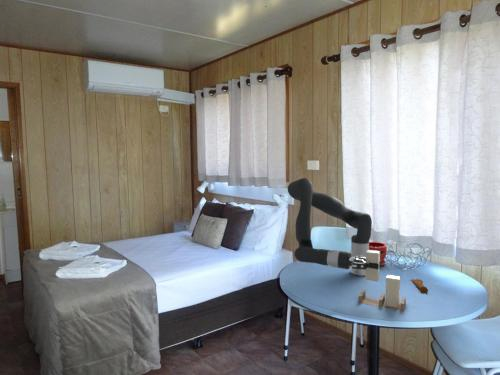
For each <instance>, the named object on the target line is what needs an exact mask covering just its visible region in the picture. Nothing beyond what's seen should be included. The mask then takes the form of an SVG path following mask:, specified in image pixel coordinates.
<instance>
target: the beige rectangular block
mask: <svg viewBox="0 0 500 375" xmlns="http://www.w3.org/2000/svg"><path fill="white" fill-rule="evenodd" d="M366 262H369V263H377V264H379V269H373V268H368V269H366V270H365V275H364V276H365V277H364V280H365V281H371V282H377V283H378V282H379V280H380V251H374V250H367V251H366Z"/></svg>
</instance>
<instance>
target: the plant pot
mask: <svg viewBox="0 0 500 375" xmlns="http://www.w3.org/2000/svg"><path fill="white" fill-rule="evenodd" d="M387 246H388V245H387V244H386V243H383V242H378V241H369V250H374V251H380V261H381V265H380V266H381V267H382V266H384V265H385V264H386V260H385V259H386V256H387Z"/></svg>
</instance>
